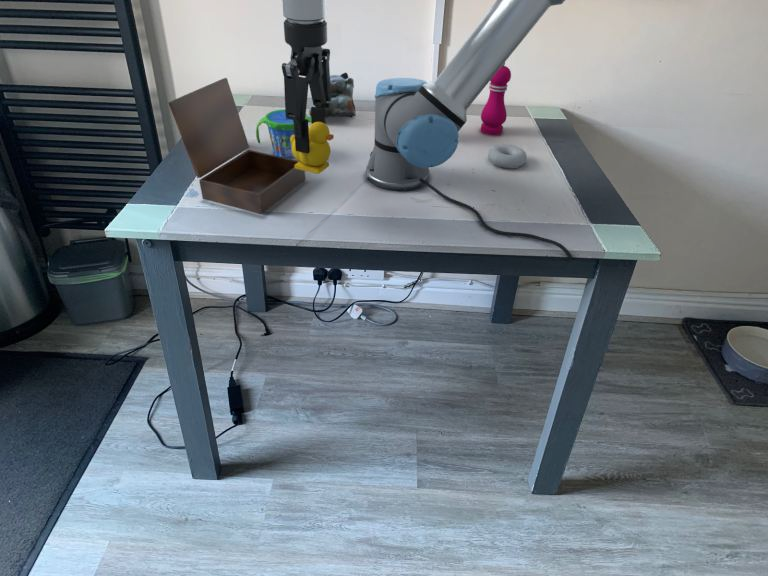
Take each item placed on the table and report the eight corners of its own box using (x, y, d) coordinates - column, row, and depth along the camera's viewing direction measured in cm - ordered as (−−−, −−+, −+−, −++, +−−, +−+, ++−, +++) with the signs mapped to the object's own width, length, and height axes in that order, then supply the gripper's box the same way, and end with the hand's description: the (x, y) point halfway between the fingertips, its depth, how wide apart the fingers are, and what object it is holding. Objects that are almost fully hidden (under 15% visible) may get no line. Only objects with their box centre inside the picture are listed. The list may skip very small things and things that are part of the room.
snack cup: (320, 146, 149) (318, 109, 143) (318, 163, 141) (316, 124, 134) (261, 146, 148) (257, 108, 142) (255, 163, 140) (251, 123, 134)
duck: (284, 168, 113) (280, 121, 107) (299, 157, 117) (297, 111, 112) (325, 177, 110) (324, 130, 104) (339, 166, 115) (338, 120, 109)
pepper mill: (509, 133, 161) (521, 61, 149) (490, 138, 158) (501, 64, 146) (491, 125, 166) (502, 54, 154) (473, 129, 162) (483, 58, 150)
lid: (226, 77, 125) (209, 80, 127) (170, 101, 111) (152, 104, 114) (249, 147, 133) (233, 148, 135) (200, 177, 120) (182, 178, 122)
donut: (530, 160, 147) (494, 151, 150) (533, 148, 145) (497, 138, 148) (518, 174, 140) (481, 164, 143) (520, 161, 138) (483, 151, 141)
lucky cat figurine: (300, 120, 164) (298, 71, 162) (324, 125, 174) (323, 78, 172) (342, 115, 156) (340, 63, 154) (365, 120, 166) (364, 72, 164)
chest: (305, 182, 132) (304, 161, 129) (262, 217, 119) (259, 195, 115) (250, 169, 137) (248, 149, 134) (203, 201, 123) (199, 179, 120)
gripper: (312, 7, 105) (317, 126, 119) (256, 27, 91) (268, 159, 105) (348, 12, 103) (349, 133, 117) (295, 32, 89) (303, 167, 103)
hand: (311, 145), depth 111 cm, fingers closed on duck, 6 cm apart
